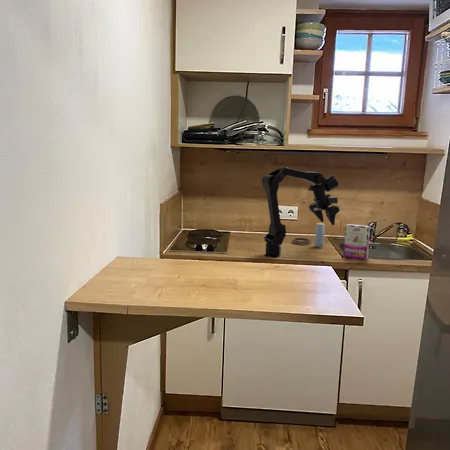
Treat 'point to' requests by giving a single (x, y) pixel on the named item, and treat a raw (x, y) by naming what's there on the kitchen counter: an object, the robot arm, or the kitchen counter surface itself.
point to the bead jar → (319, 235)
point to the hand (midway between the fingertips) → (328, 223)
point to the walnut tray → (301, 241)
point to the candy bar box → (356, 241)
